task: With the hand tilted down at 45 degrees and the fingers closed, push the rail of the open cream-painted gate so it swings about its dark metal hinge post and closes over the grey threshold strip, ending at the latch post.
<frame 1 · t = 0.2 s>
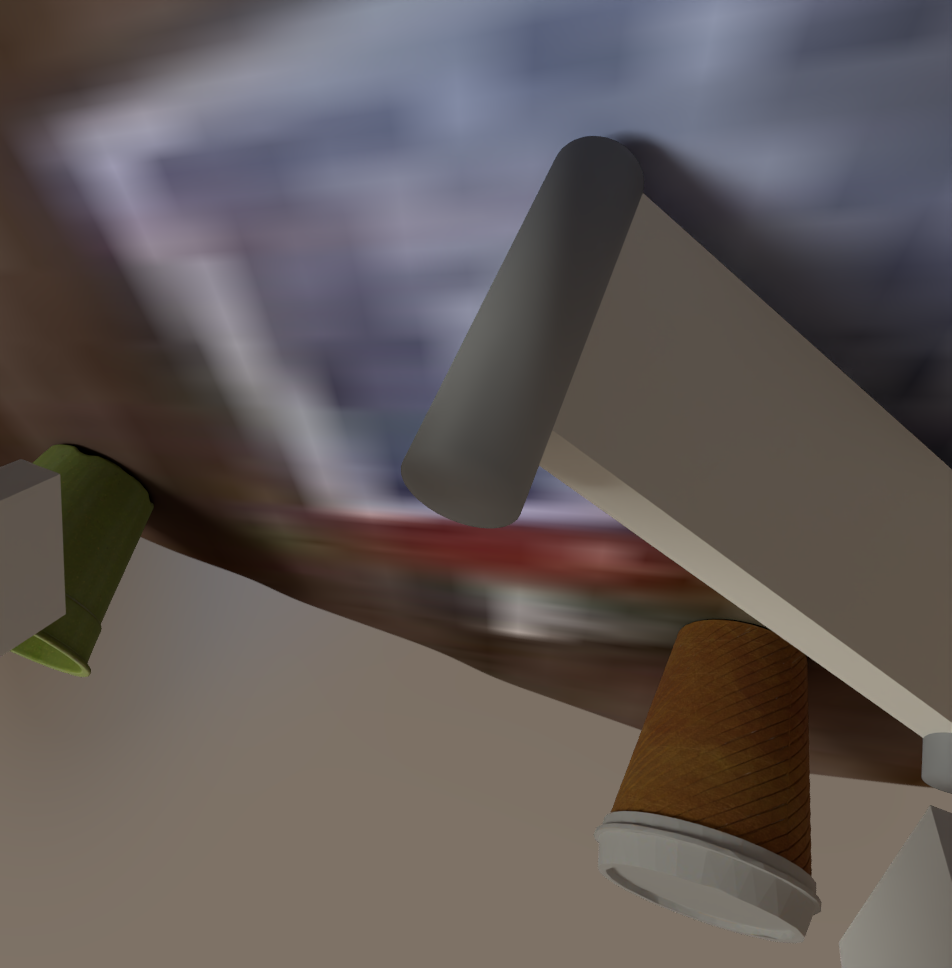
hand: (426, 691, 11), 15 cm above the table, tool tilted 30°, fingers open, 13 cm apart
disposable coffee cup: (741, 646, 39), on the table
gate: (769, 492, 19), point 6 cm above the table, hinge at 45.0°
plant pot: (107, 475, 50), on the table
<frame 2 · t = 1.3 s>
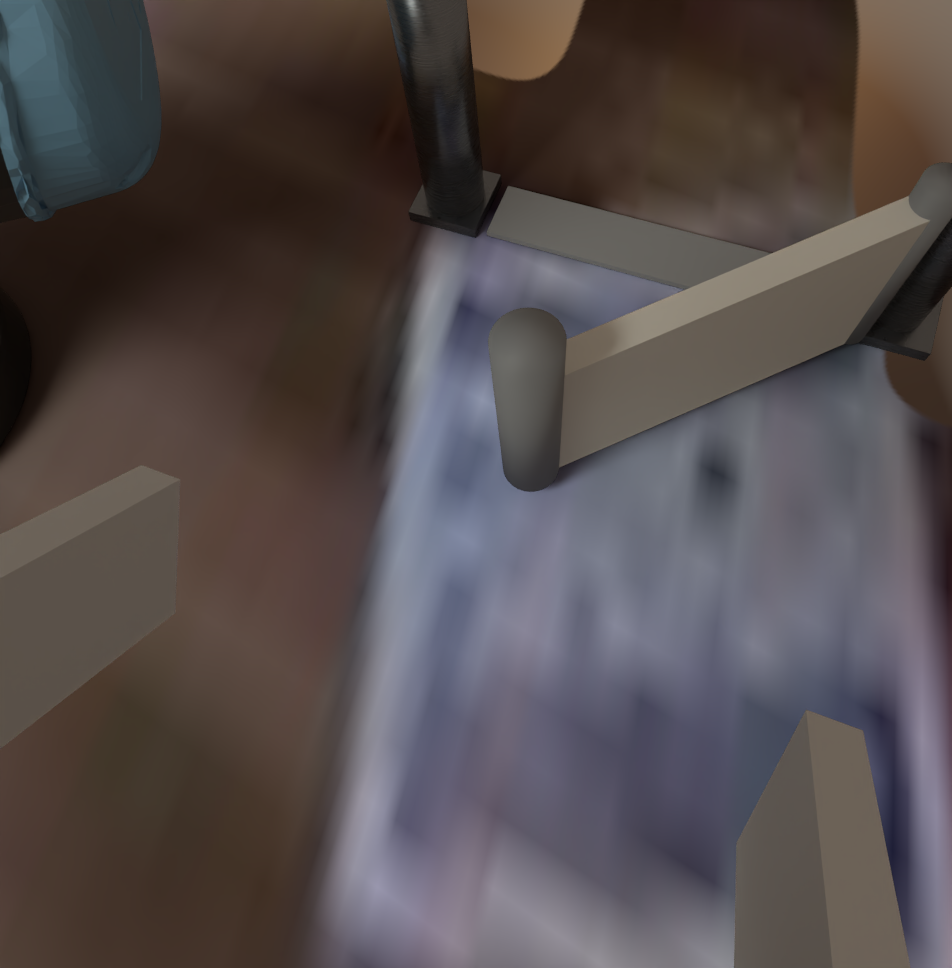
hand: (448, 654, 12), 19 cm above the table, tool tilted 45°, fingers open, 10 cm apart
latch post: (456, 201, 39), on the table
hinge post: (890, 316, 35), on the table
threshold strip: (658, 255, 37), on the table
gate: (711, 335, 29), point 6 cm above the table, hinge at 45.0°
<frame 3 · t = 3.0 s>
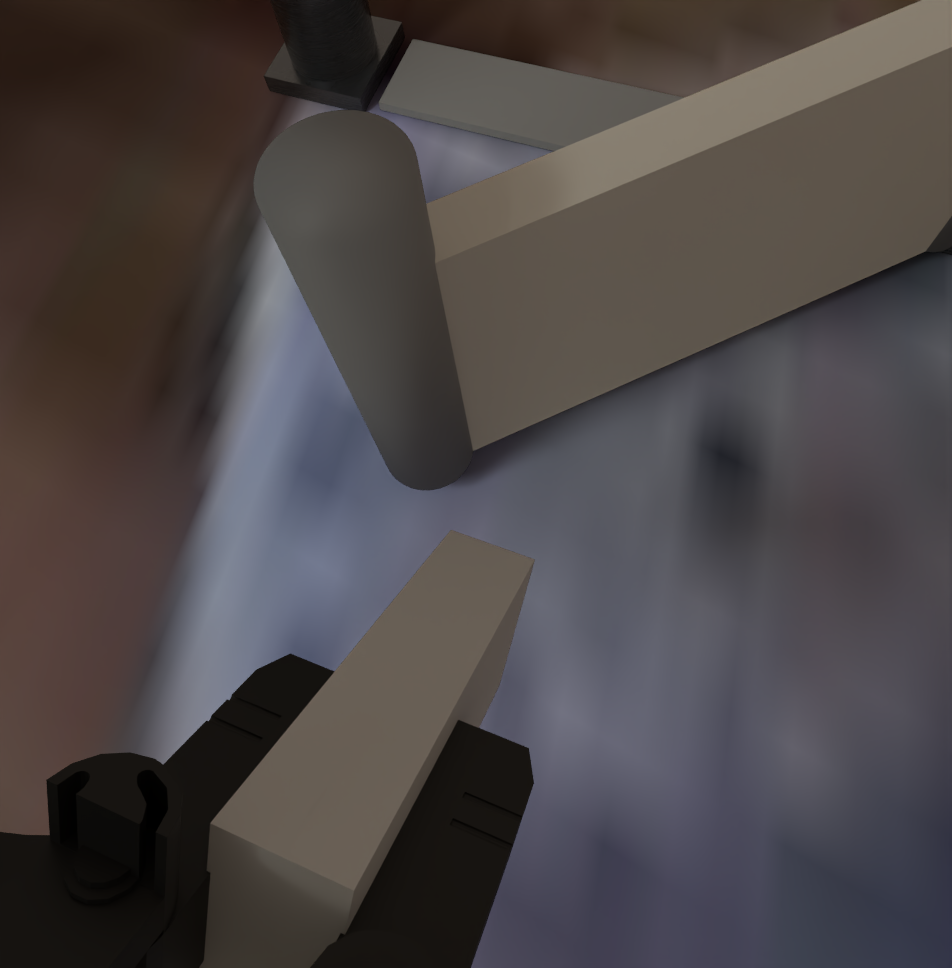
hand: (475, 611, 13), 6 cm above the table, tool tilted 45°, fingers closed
latch post: (337, 64, 27), on the table
threshold strip: (634, 131, 25), on the table
gate: (719, 213, 16), point 6 cm above the table, hinge at 45.0°
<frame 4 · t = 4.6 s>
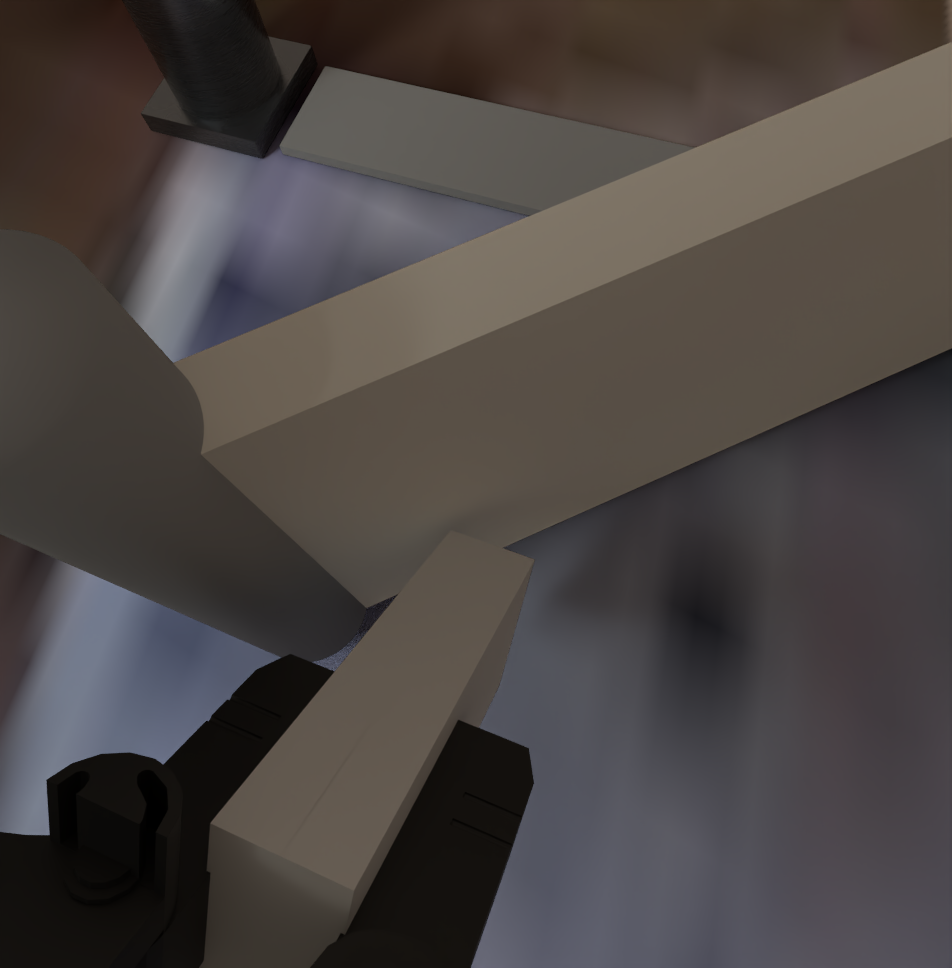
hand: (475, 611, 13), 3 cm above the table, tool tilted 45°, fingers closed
latch post: (234, 97, 22), on the table
threshold strip: (592, 181, 20), on the table
gate: (678, 327, 11), point 6 cm above the table, hinge at 44.3°, touching gripper
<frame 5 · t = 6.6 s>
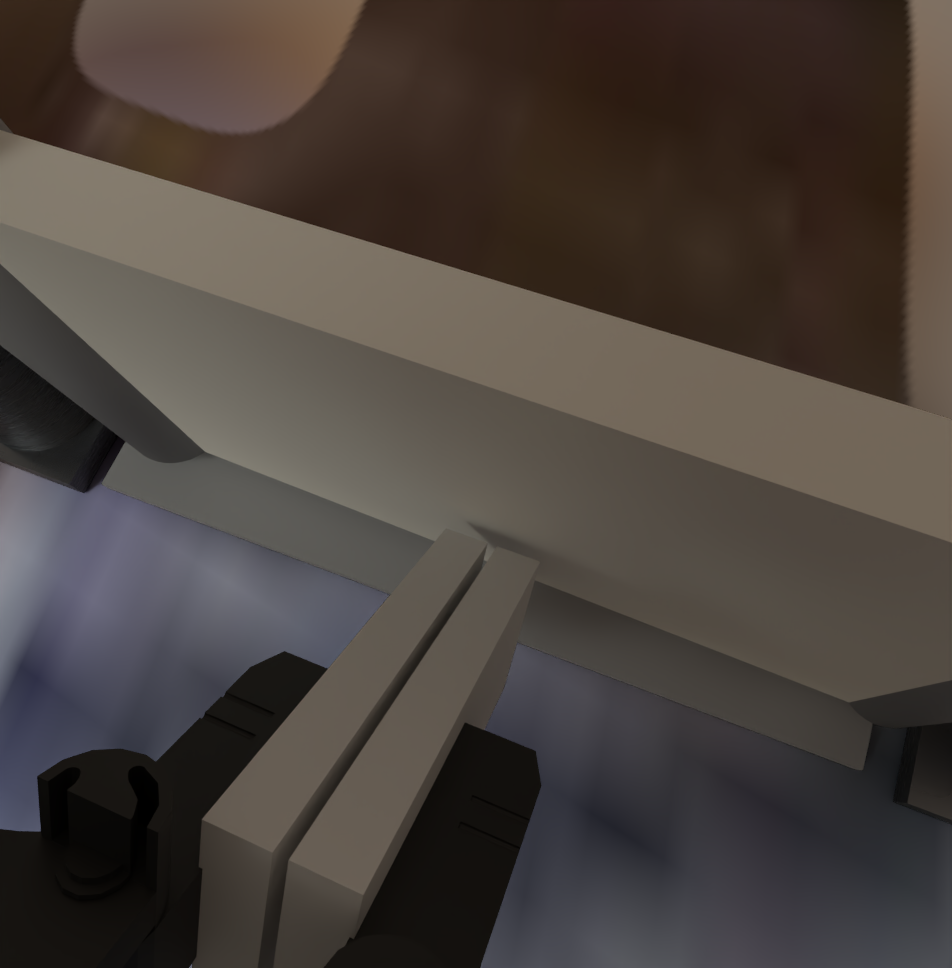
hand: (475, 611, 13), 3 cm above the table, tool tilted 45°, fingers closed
latch post: (60, 403, 18), on the table
threshold strip: (468, 548, 16), on the table
gate: (459, 428, 11), point 6 cm above the table, hinge at -1.7°, touching gripper
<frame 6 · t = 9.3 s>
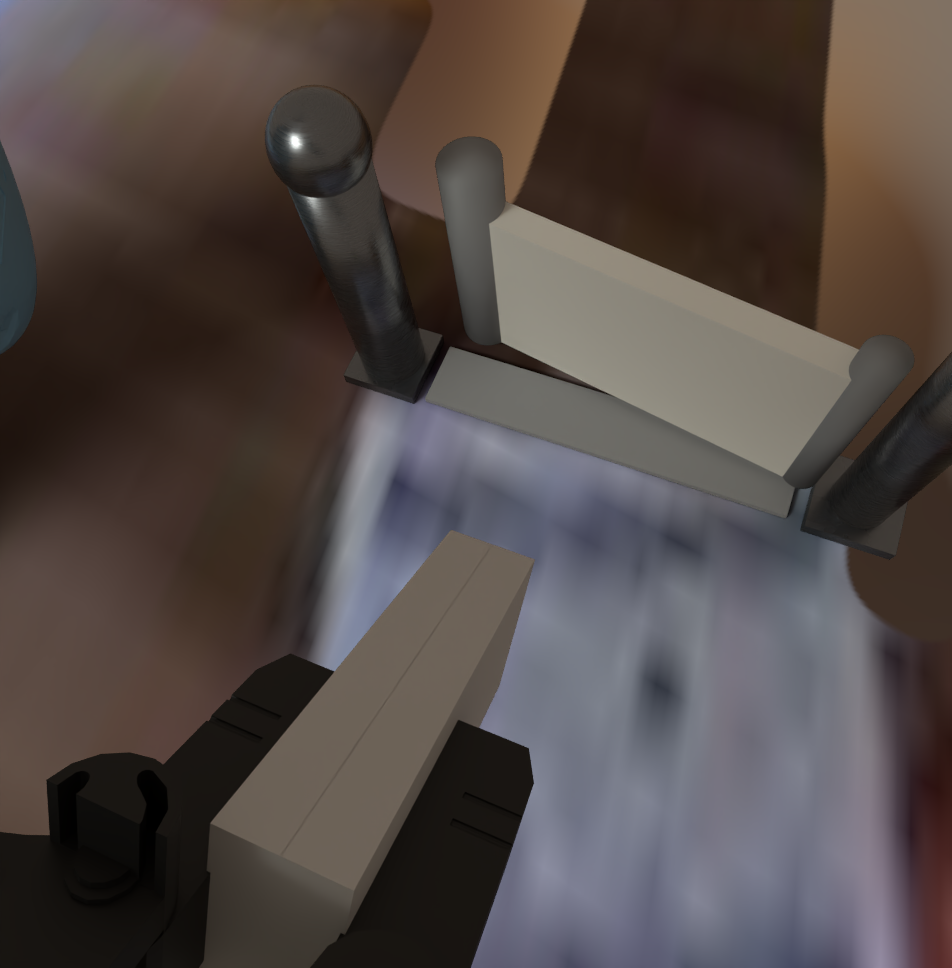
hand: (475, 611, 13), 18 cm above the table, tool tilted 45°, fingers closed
latch post: (395, 361, 37), on the table
hinge post: (853, 506, 32), on the table
threshold strip: (606, 428, 35), on the table
gate: (643, 327, 30), point 6 cm above the table, hinge at -9.6°
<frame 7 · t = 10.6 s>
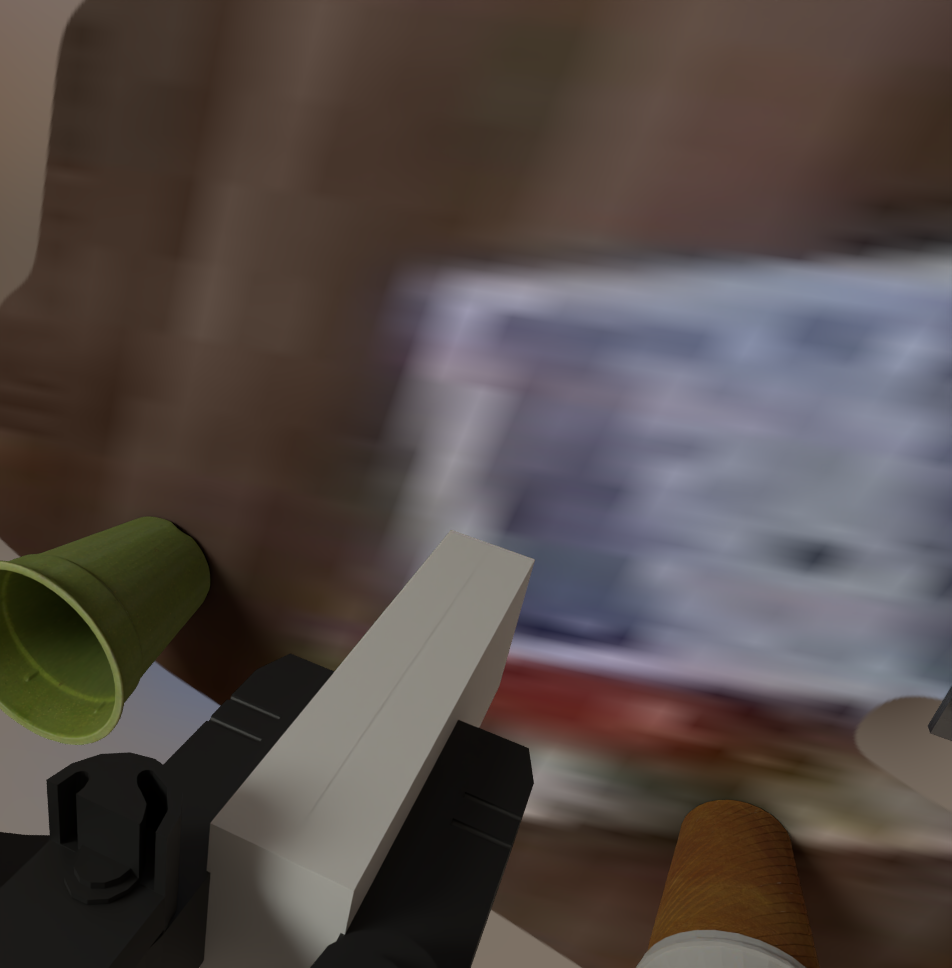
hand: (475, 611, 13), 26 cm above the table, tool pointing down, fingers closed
disposable coffee cup: (734, 838, 46), on the table
plant pot: (169, 563, 52), on the table
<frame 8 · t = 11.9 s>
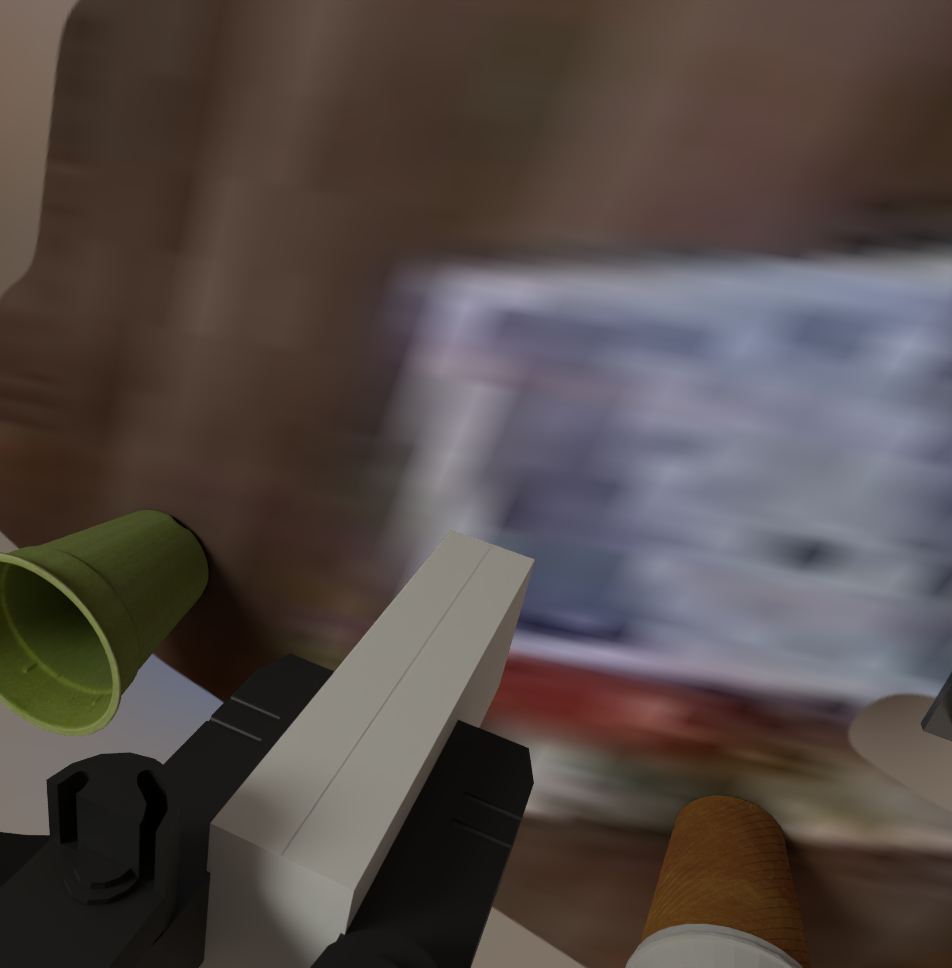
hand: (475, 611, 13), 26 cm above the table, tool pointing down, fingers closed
disposable coffee cup: (728, 833, 46), on the table
plant pot: (167, 556, 52), on the table
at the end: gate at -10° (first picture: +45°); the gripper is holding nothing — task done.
